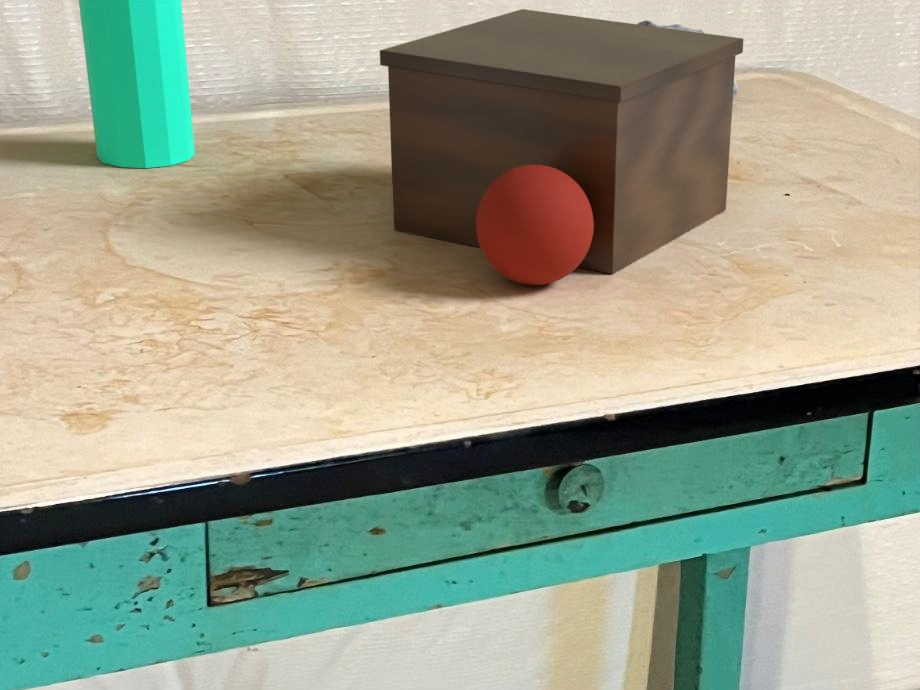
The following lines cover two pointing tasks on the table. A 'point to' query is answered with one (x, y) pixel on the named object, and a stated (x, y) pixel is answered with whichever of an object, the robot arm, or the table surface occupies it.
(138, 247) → the table surface
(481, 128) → the box
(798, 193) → the table surface
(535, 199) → the ball
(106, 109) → the candle
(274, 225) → the table surface
